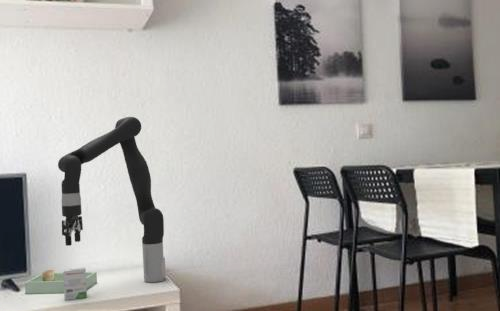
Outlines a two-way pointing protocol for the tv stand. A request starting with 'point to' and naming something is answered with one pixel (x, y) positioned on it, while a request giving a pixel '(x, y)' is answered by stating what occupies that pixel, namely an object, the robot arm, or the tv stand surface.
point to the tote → (54, 284)
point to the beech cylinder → (48, 275)
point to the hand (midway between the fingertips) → (73, 243)
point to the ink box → (75, 283)
